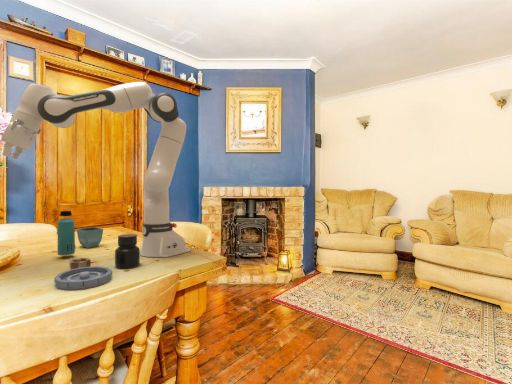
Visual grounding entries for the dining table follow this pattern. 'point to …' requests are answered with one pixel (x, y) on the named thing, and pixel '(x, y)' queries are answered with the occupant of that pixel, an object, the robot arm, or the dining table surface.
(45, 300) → the dining table surface
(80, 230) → the flower pot
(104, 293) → the dining table surface
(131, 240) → the ink bottle
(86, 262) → the bead loop
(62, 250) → the beverage bottle
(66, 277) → the groove tray
